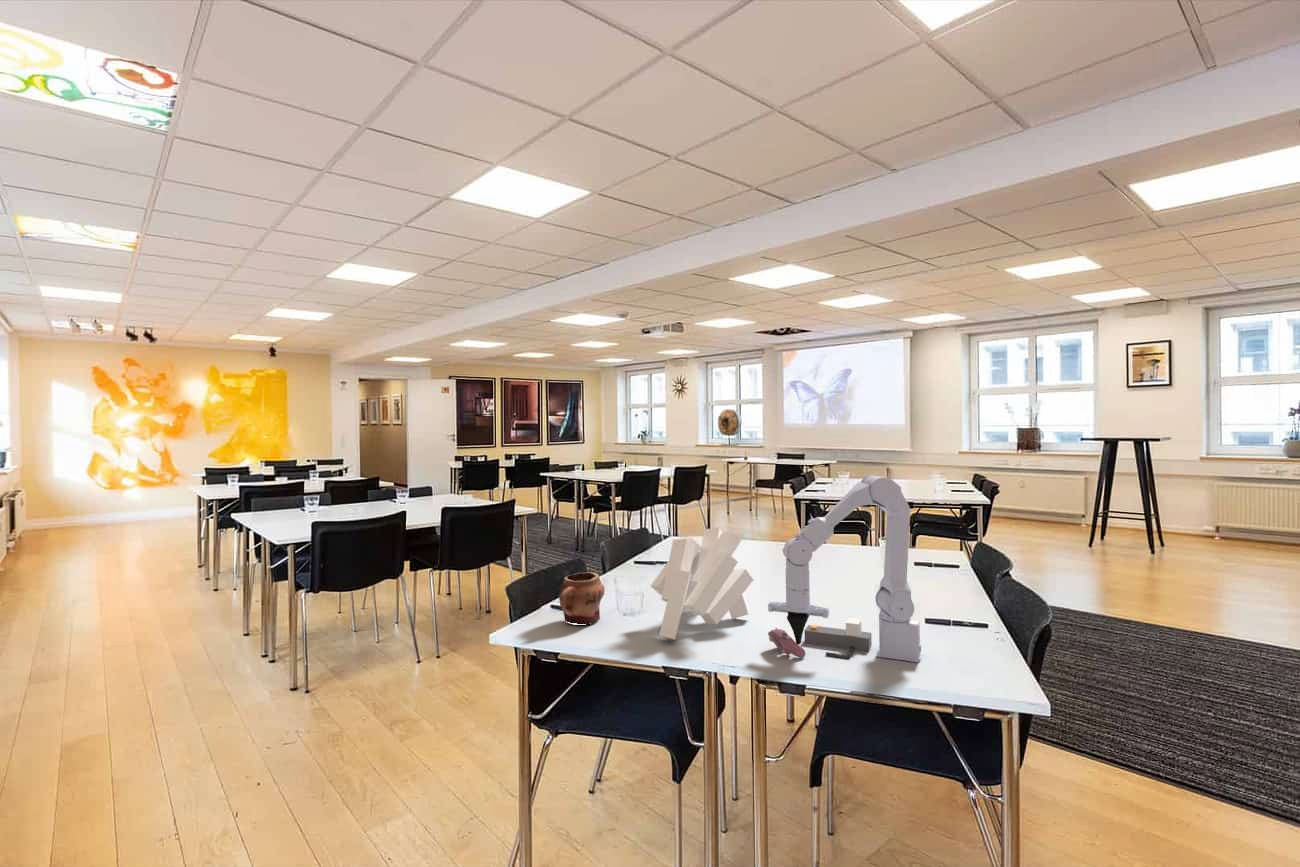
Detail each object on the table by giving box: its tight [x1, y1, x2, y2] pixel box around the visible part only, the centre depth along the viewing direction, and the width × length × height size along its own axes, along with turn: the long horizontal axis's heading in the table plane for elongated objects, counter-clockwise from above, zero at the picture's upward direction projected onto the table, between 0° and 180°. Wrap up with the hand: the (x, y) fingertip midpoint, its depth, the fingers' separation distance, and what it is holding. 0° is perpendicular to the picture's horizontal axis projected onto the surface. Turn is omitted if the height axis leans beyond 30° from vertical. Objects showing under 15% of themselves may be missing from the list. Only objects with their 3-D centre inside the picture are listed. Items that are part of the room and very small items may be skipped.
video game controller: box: [767, 627, 806, 658], centre depth 153 cm, size 10×5×7 cm, turn 17°
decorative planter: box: [558, 571, 605, 625], centre depth 180 cm, size 20×12×14 cm, turn 160°
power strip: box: [803, 617, 873, 660], centre depth 156 cm, size 16×12×6 cm
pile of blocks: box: [650, 527, 754, 640], centre depth 178 cm, size 35×30×35 cm
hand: (798, 643), depth 152 cm, fingers closed, pressing on video game controller
